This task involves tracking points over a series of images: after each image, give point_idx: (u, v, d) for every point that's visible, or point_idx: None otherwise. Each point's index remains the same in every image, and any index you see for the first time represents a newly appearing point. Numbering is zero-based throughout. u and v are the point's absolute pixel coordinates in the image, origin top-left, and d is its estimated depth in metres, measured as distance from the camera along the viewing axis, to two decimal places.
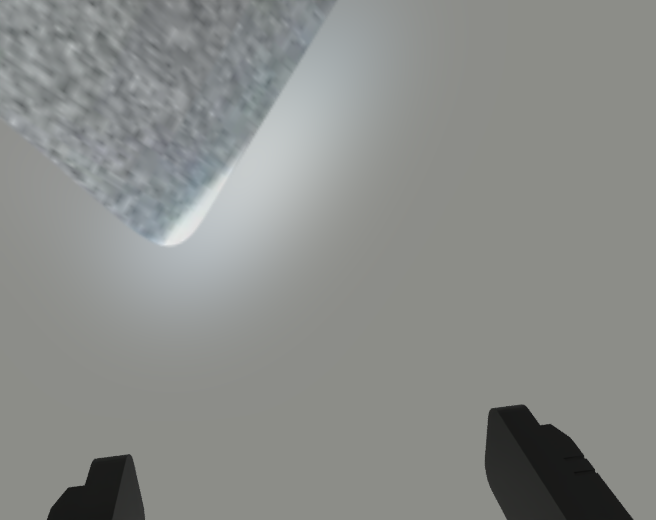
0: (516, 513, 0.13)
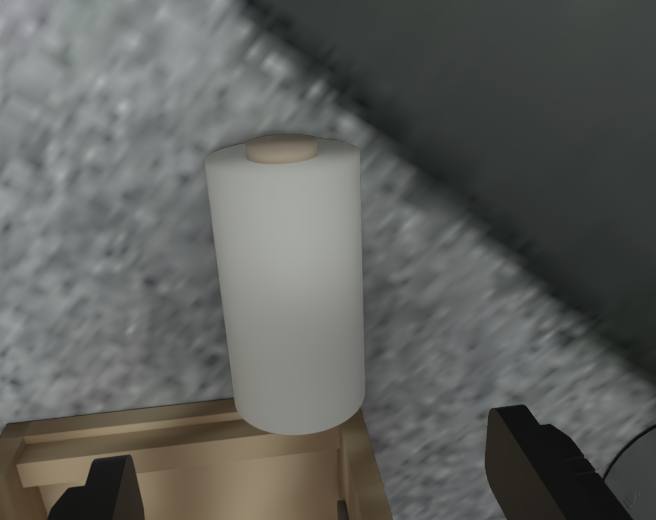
0: (516, 513, 0.13)
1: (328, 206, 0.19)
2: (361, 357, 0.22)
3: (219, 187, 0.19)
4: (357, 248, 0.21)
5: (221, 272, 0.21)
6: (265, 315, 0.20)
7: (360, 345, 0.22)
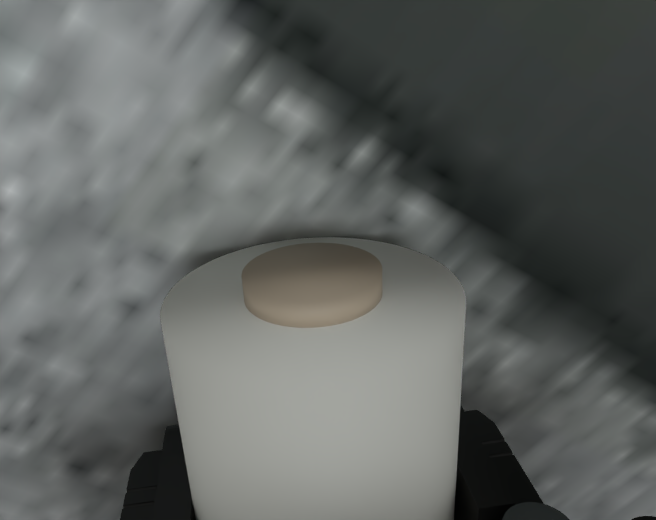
0: None
1: (416, 422, 0.09)
2: None
3: (189, 382, 0.09)
4: (455, 464, 0.11)
5: (197, 512, 0.11)
6: None
7: None
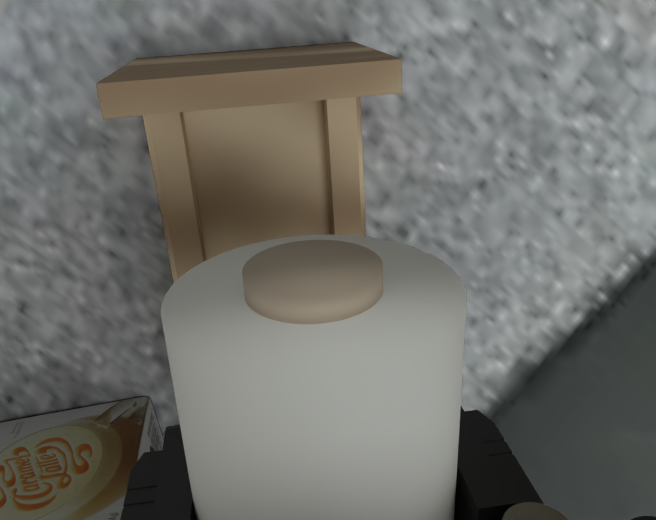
0: None
1: (416, 418, 0.09)
2: None
3: (189, 378, 0.09)
4: (455, 461, 0.11)
5: (197, 509, 0.11)
6: None
7: None
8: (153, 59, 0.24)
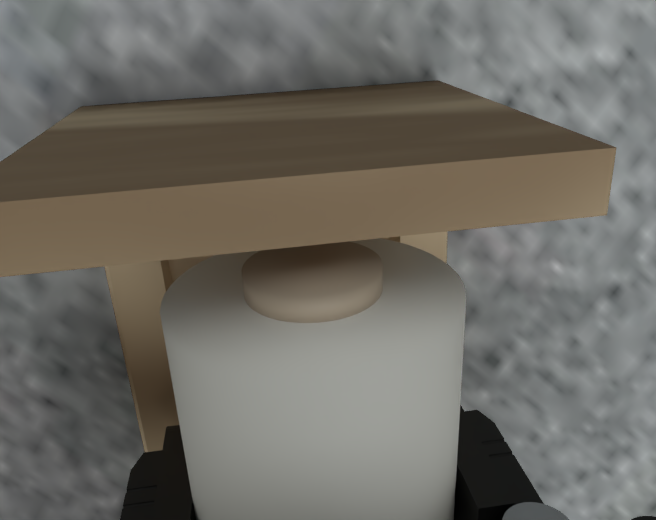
0: None
1: (416, 418, 0.09)
2: None
3: (188, 377, 0.09)
4: (455, 461, 0.11)
5: (196, 508, 0.11)
6: None
7: None
8: (107, 111, 0.14)
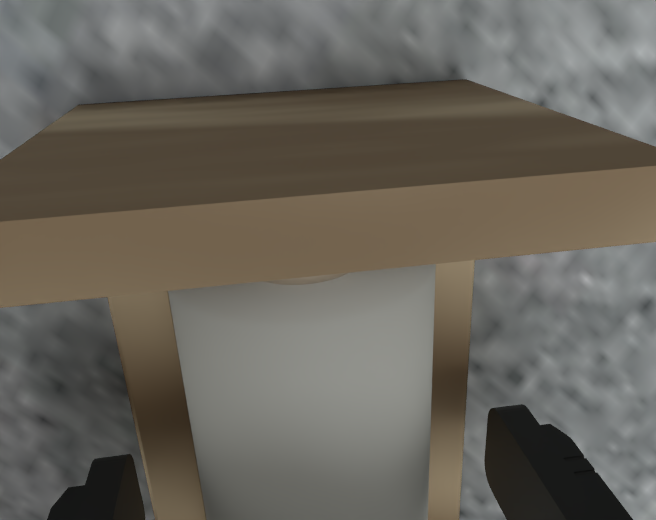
0: (516, 513, 0.13)
1: (387, 367, 0.10)
2: None
3: (189, 330, 0.10)
4: (427, 413, 0.12)
5: (197, 453, 0.12)
6: None
7: None
8: (107, 110, 0.13)
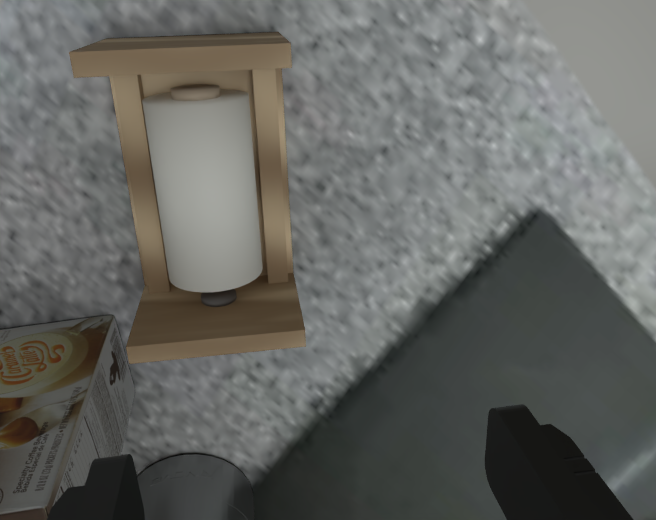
0: (516, 513, 0.13)
1: (222, 128, 0.29)
2: (255, 242, 0.32)
3: (150, 115, 0.29)
4: (247, 161, 0.30)
5: (154, 176, 0.30)
6: (182, 204, 0.30)
7: (253, 232, 0.32)
8: (119, 39, 0.31)
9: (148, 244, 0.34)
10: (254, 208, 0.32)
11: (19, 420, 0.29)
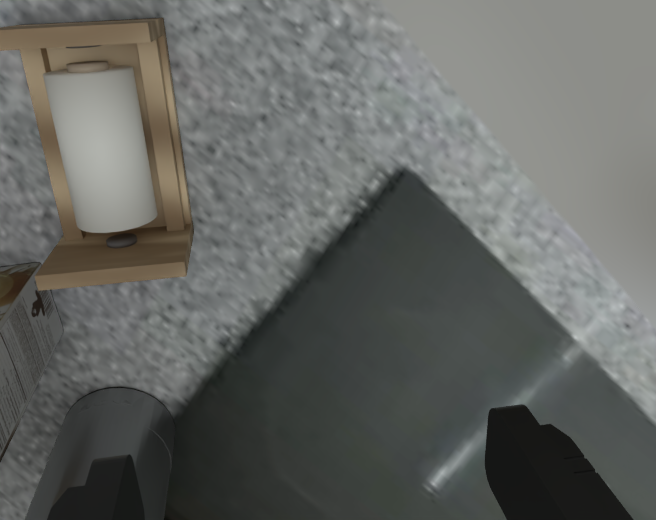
0: (516, 513, 0.13)
1: (105, 94, 0.35)
2: (146, 191, 0.39)
3: (48, 84, 0.35)
4: (132, 123, 0.37)
5: (57, 136, 0.37)
6: (78, 157, 0.36)
7: (143, 183, 0.39)
8: None
9: (61, 197, 0.41)
10: (143, 163, 0.39)
11: None
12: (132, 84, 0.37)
